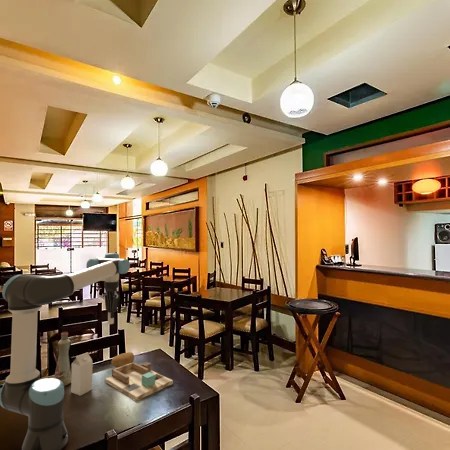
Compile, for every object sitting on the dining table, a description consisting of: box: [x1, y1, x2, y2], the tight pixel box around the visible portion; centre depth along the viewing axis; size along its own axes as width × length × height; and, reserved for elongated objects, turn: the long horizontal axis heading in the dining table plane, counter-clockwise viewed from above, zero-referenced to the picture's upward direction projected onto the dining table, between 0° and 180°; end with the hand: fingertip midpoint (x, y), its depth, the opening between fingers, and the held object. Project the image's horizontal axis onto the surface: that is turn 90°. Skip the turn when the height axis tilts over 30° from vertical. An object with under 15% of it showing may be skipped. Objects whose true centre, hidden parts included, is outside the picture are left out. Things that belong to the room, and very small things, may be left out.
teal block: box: [142, 372, 156, 388], centre depth 161 cm, size 5×5×5 cm
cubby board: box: [104, 361, 174, 402], centre depth 167 cm, size 23×30×6 cm
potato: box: [110, 351, 135, 369], centre depth 187 cm, size 10×14×8 cm
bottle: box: [53, 331, 72, 387], centre depth 166 cm, size 9×9×28 cm
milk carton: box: [70, 352, 93, 396], centre depth 158 cm, size 7×7×19 cm
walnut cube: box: [140, 362, 152, 371], centre depth 178 cm, size 4×4×4 cm
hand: (110, 323), depth 168 cm, fingers closed
